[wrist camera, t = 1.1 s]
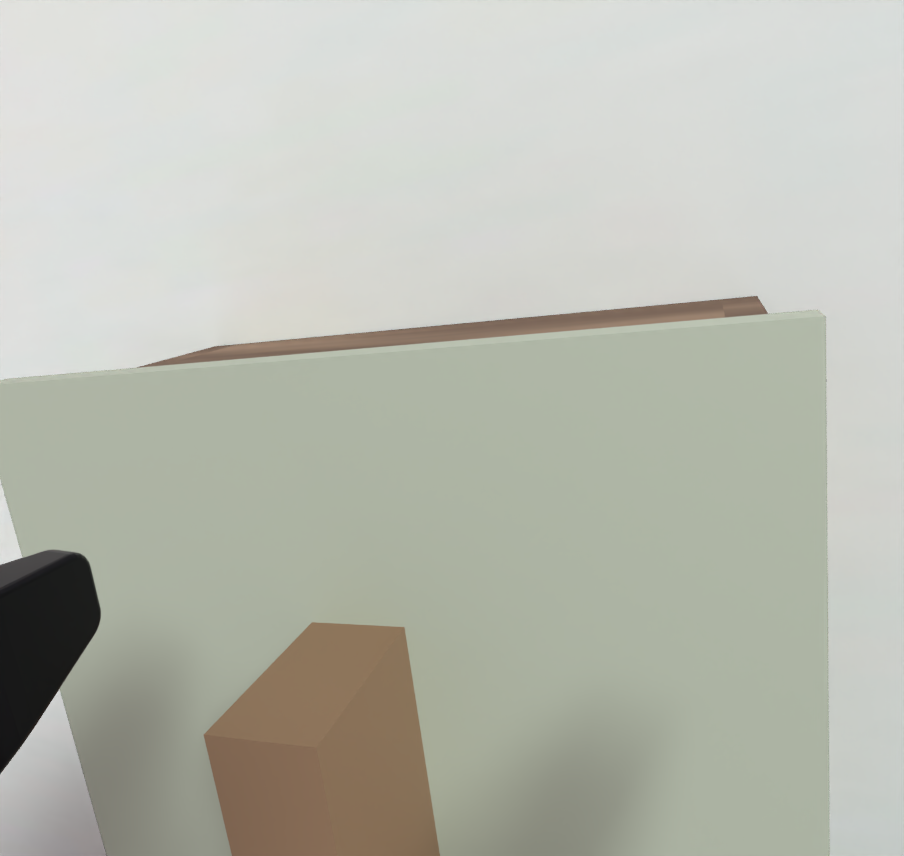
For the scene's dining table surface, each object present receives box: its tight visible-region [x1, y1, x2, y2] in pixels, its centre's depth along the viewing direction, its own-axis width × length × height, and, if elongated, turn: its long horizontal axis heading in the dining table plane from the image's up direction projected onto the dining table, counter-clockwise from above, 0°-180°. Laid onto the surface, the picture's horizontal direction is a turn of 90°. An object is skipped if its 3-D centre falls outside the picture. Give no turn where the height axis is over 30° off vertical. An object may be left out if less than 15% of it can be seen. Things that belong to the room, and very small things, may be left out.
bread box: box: [137, 296, 768, 368], centre depth 19 cm, size 16×16×7 cm
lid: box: [0, 310, 830, 856], centre depth 14 cm, size 16×16×6 cm
